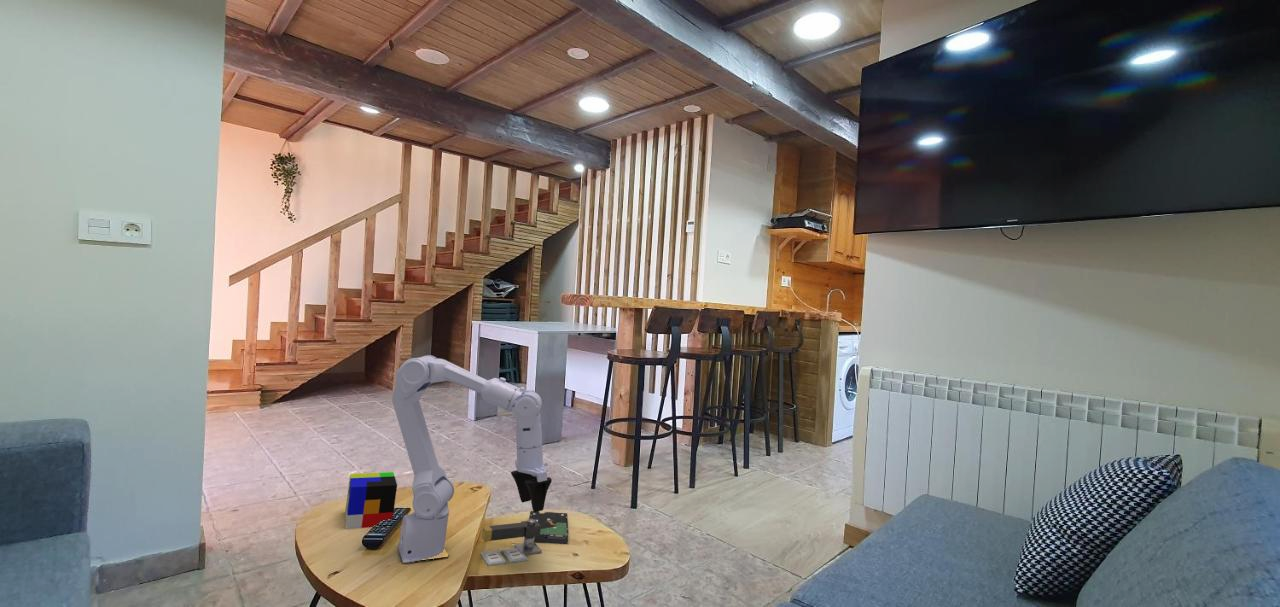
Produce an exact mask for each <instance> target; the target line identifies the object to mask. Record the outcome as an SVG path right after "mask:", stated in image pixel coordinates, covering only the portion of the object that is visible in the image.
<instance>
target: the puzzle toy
mask: <svg viewBox="0 0 1280 607" xmlns="http://www.w3.org/2000/svg"><path fill="white" fill-rule="evenodd" d="M397 488H398V484H397V479H396V476H395V472H393V471H392V472H391V471H389V472H363V473H350V474H349V481H348V488H347V497H346V502H345V508H344V509H345V511H344V521H345V525H344V526H345V528H344V529H345V530H351V529H352V530H353V529H366V528H374V527H373V526H374V525H376V524H377V523H379V522H380V521H383V520H388V519H394V511H395V506H396V505H395V504H396V497H397V490H398V489H397Z"/></svg>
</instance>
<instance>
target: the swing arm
mask: <svg viewBox="0 0 1280 607" xmlns="http://www.w3.org/2000/svg"><path fill="white" fill-rule="evenodd" d="M481 531H482V533H481V539H482V540H483V542H484V543H487V542H492V541H500V540H502V541H503V540H509V539H517V538H518V539H519V538H524V537H525V538H528V537H536V536H540V531H541V525H540V524H539V523H538V522H537V521H536V520H535V523H534V524H533V525H529V523H528V520H525V521H524V520H523V521H520V522H514V523H505V524H495V525H483V526H482V530H481Z"/></svg>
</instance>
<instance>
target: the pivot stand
mask: <svg viewBox="0 0 1280 607" xmlns="http://www.w3.org/2000/svg"><path fill="white" fill-rule="evenodd" d="M527 521H528V523H529V525H533V524H534V523H535V519H529V518H527ZM534 538H535V537H528V538H525V537H523V543H517V544H516V543H515V544H513V546H514V547H513V548H517V549H518V550H519V551H520V553H521V554H524V555H525V556H531V555H537V554H542V553H543V550H542V549H541V548H540V547H539V546H538V545H537V543H535V542H534Z"/></svg>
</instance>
